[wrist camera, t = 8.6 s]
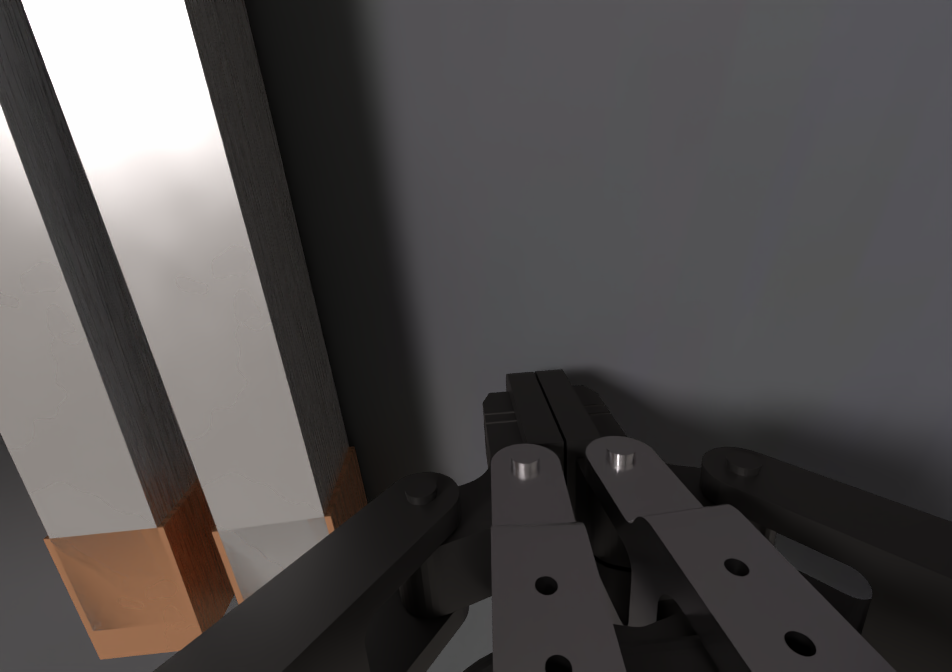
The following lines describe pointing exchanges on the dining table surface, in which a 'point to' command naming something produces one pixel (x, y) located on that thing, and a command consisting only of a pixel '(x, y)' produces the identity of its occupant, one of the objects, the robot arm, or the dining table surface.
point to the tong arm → (210, 261)
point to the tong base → (90, 390)
